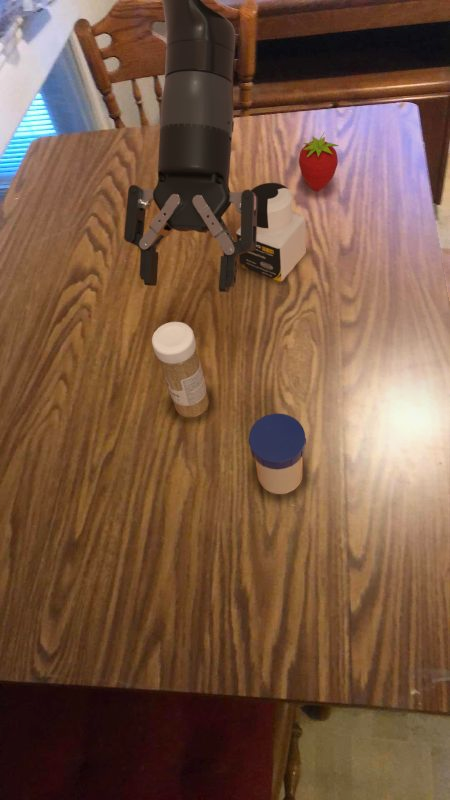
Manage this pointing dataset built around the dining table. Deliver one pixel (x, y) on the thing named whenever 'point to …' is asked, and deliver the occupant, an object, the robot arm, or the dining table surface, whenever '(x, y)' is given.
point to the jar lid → (277, 441)
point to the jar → (280, 477)
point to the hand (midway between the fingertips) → (186, 288)
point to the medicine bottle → (275, 233)
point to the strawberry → (318, 163)
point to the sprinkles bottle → (181, 367)
